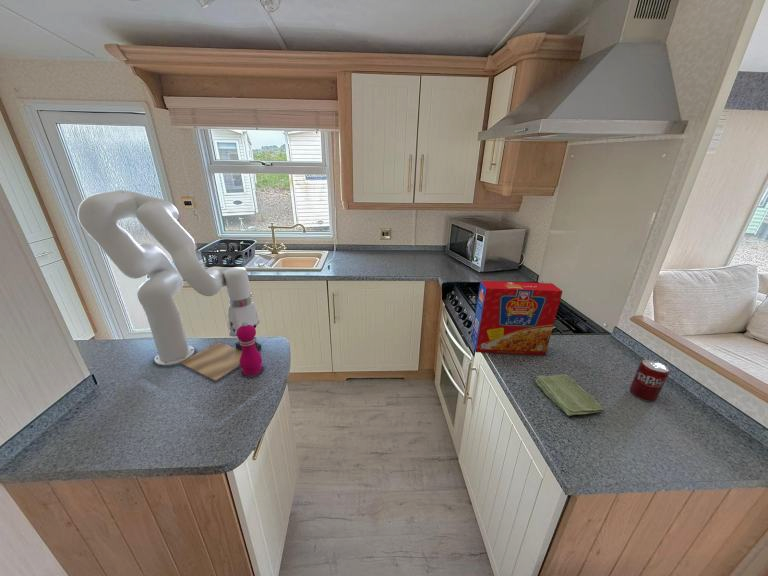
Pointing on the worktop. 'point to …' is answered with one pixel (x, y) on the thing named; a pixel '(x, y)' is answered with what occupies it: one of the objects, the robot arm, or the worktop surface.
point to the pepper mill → (249, 350)
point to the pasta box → (515, 317)
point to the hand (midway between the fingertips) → (247, 343)
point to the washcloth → (568, 395)
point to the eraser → (258, 346)
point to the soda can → (649, 380)
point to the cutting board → (214, 360)
